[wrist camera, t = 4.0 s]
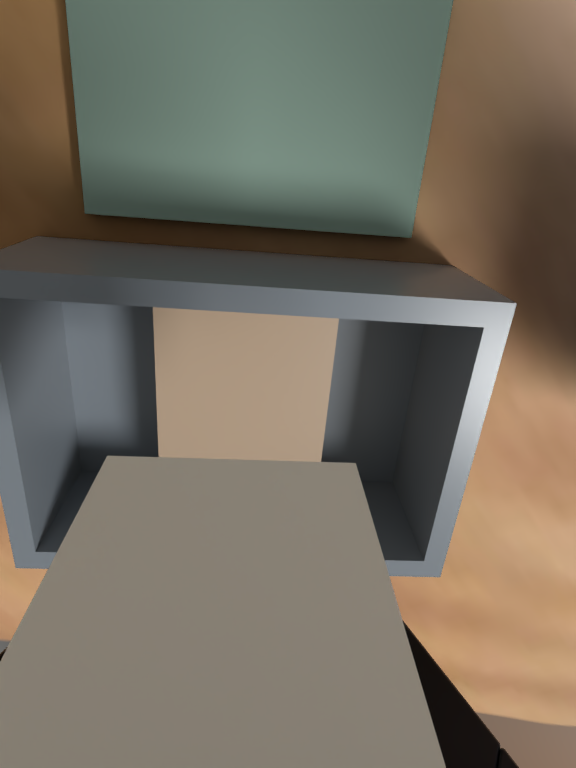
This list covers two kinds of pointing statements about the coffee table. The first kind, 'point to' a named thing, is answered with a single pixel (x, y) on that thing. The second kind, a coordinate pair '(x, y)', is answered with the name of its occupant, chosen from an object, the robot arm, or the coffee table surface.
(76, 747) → the block
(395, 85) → the board
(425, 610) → the coffee table surface
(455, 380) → the slot box
